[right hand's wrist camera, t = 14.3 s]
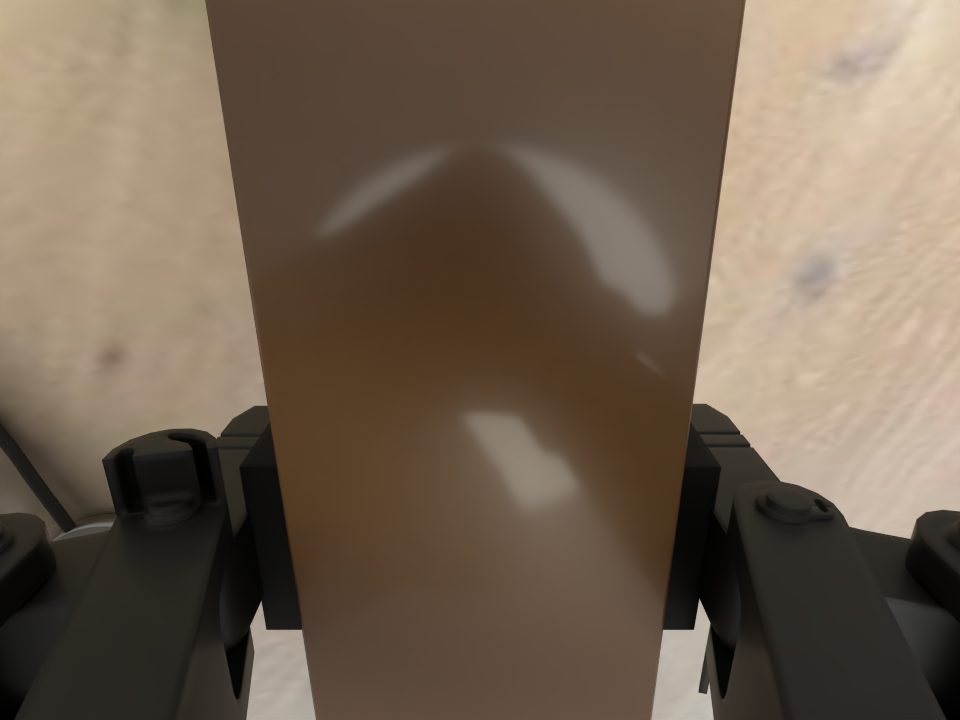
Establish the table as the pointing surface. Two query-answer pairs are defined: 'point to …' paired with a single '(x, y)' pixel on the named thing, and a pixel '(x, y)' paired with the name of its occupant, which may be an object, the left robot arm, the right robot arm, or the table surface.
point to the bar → (479, 331)
